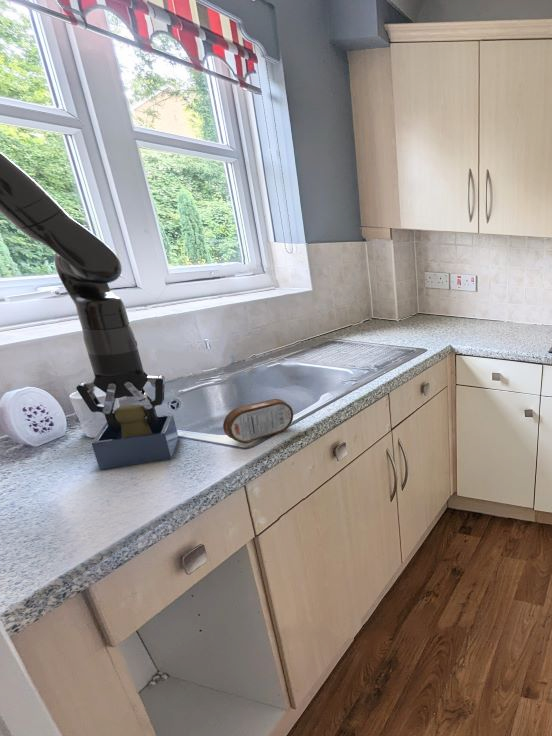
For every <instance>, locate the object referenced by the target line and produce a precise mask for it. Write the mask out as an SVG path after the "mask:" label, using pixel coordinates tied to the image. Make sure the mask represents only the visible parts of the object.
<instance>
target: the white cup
mask: <svg viewBox="0 0 552 736" xmlns="http://www.w3.org/2000/svg"><path fill="white" fill-rule="evenodd" d="M94 388H95V390H94V392H93V393H94V394H95V396H96V397H97V399H98V401H99V402H100V404H104V401H105V397H106V393H105V392H103V391H102V390H100V389H99V388H98V387H96V386H95V387H94ZM68 397H69V399H70V401H71V404H72V407H73V409H74V412H75V414H76V416H77V419H78V421H79V423H80V426H82V429H83V431H84V434H85V436H86V437H87V438H90V439H91V438H92V439H95V438H96V436H97V435H98V433H99V432H100V431H101V429H102V428H103V426H104V425H105V424H106V422H107V421H106V417H105V414H104V413H102V412H92V411H90V409H89V407H88V406H87V404H86V403H85V401H84V400H83V398H82V397H81V395H80V394H79V392H78V391H77V390H76V391H75V392H72V393H70V394H69V396H68ZM120 404H121V403H120V398H116V400H115V404H114V408H113V410H116V409H117V408H118V407H120V406H121V405H120Z"/></svg>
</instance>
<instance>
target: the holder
mask: <svg viewBox="0 0 552 736" xmlns="http://www.w3.org/2000/svg"><path fill="white" fill-rule="evenodd" d="M145 419H146V421H147V417H146V418H145ZM147 423H148V421H147ZM119 424H120V427H119V429H116V430H113V428H112V427H109V426H108V424H107V422H106V424H105V425H104V426H103V428H102V429H101V431H100V432H99V433H98V435H97V436H96V438H93V440H92V442H91V443H90V444H91V447H92V451H93V455H94V457H95V460H96V463H97V466H98V470H99V471H103V470H108V469H109V470H110V469H117V468H121V467H128V466H134V465H140V464H147V463H153V462H159V461H166V460H172V458H173V455H174V452H175V449H176V447H177V443H178V440H179V434H178V429H177V425H176V421H175V418H174V414H172V413H171V414H170V413H169V414H162V415H157V420H156V422H154V425H149V424H148V425H149V427H150V429H151V432H152V434H147V435H140V436H132V437H125V438H122V432H121V423H120V422H119Z"/></svg>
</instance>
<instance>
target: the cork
mask: <svg viewBox="0 0 552 736" xmlns="http://www.w3.org/2000/svg"><path fill="white" fill-rule="evenodd" d="M114 415H115V418H116V420H117V421H118V422H120V423H121V432H122V438H125V437H132V436H140V435H147V434H152V432H151V429H150V427H149V425H148V423H147V421H146V419H145V418H146V413H145V407H144V405H143V404H142V403H141V404H140V403H129V404H123V405H120V407H118V408H117V409H116V410H115V412H114Z"/></svg>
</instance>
